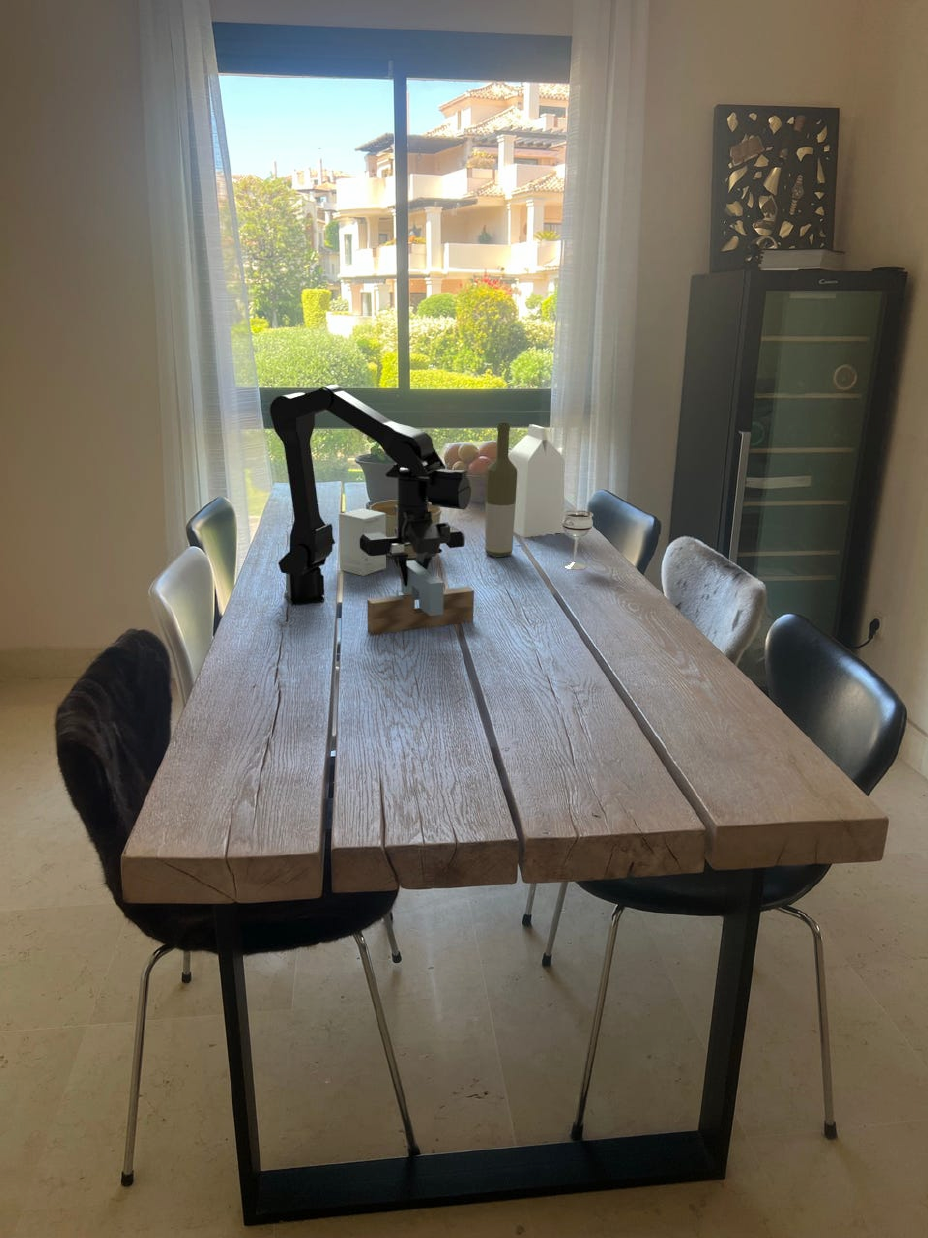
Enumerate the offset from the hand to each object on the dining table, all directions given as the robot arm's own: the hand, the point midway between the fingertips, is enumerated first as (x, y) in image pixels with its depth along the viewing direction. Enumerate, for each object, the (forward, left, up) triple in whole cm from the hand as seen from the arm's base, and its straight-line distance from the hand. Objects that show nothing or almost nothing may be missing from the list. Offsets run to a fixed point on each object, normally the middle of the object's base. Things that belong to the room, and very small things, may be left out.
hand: (412, 584), depth 176 cm
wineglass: (+46, +17, -7) cm, 50 cm away
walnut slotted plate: (0, -5, -6) cm, 8 cm away
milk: (+52, +48, -7) cm, 71 cm away
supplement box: (+1, +31, -7) cm, 32 cm away
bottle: (+34, +31, -7) cm, 47 cm away
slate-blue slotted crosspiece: (0, -5, -2) cm, 5 cm away
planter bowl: (+14, +39, -7) cm, 42 cm away
